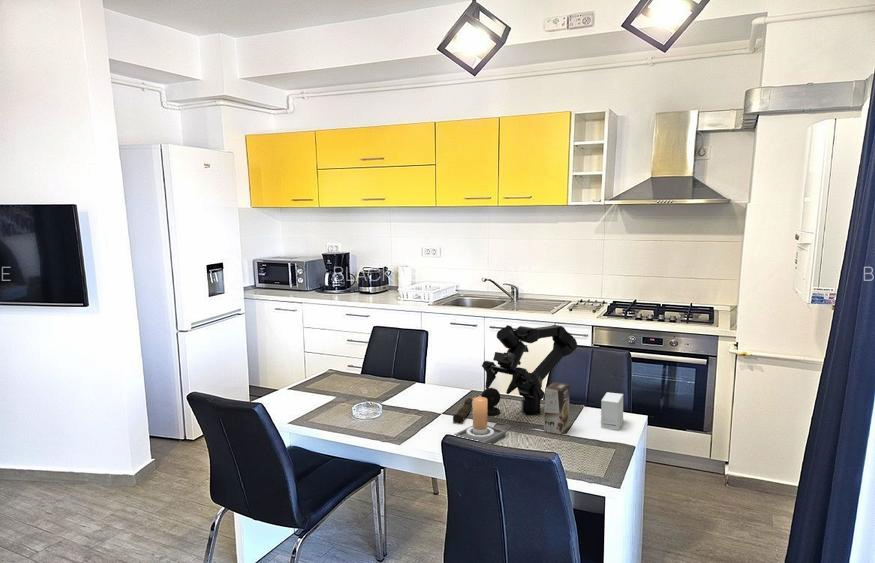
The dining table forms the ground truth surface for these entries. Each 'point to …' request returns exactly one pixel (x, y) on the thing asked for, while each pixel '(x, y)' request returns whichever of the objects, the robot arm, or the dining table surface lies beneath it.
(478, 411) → the peach bulb knob
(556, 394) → the coffee box
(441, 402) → the dining table surface
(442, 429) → the dining table surface
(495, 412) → the webcam
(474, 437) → the housing
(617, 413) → the skincare box
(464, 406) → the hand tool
